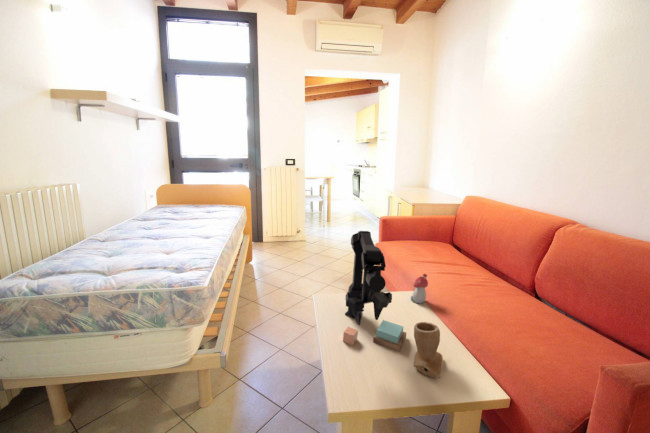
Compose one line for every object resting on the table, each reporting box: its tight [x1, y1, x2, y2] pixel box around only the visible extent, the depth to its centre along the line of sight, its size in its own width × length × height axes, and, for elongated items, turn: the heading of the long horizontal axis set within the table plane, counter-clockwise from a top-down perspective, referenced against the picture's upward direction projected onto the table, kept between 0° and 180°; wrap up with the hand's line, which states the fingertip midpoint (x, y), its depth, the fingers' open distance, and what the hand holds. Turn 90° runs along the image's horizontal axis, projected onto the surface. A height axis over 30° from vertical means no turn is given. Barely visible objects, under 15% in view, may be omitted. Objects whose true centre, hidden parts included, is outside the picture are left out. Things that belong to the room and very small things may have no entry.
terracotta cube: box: [342, 326, 359, 346], centre depth 126 cm, size 4×4×4 cm
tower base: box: [372, 331, 407, 352], centre depth 129 cm, size 11×11×3 cm
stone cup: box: [413, 321, 443, 379], centre depth 114 cm, size 15×12×15 cm
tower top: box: [375, 319, 404, 344], centre depth 128 cm, size 9×9×3 cm
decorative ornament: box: [410, 273, 429, 304], centre depth 163 cm, size 9×6×15 cm
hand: (367, 322), depth 116 cm, fingers open, 9 cm apart
